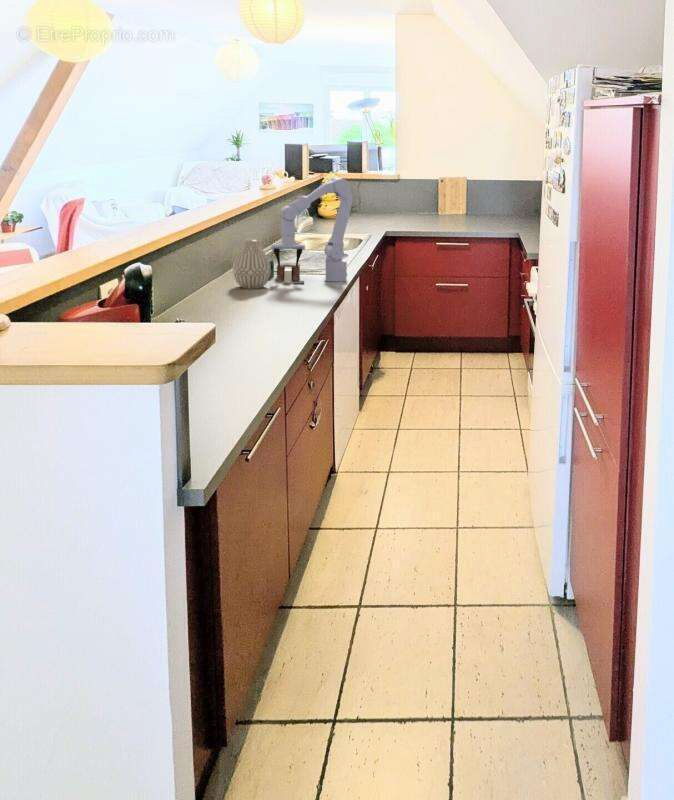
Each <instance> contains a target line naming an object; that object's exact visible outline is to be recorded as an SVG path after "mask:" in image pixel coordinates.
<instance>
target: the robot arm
mask: <svg viewBox="0 0 674 800" xmlns="http://www.w3.org/2000/svg"><path fill="white" fill-rule="evenodd" d="M326 194H335V195H336V197H337V198H338V200H339V201H340V202H339V205H338V209H337V212H336V213H337V214H336V217H335V222H334V225H333V228H332V233H331V237H330V238H329V239H328V242H327V244H326V245H325V247H324V249H323V251H324V254H325V256H326V257H325V277H324V281H325V282H347V277H348V273H347V270H348V269H347V268H348V267H347V266H348V265H347V263H348V261H347V259H346V260H345V259H343V257H344V255H345V254H344V252H345V251H344V245H345V243H344V238H345V237H344V236H345V234H346V228H347V225H348V221H349V217H350V214H351V209H352V207H353V201H354V198H353V194H352V191H351V184H350V183H349V182H348V180H347V179H345V178H340V177H336V176H335V177H332V178H331V179H328V180H327V181H325V182H324V183H323V184H321V185H320V186H319V187H317V188H315V189H314V190H313V191H312V192H310V193H308V194H307V195H301V196H300V195H298V196H297V197H296V198H297V199H295V200H294V201H292V202H289V203H288V204H287V205H285V206H283V207H281V210H280V212H279V216H280V217H281V231H280V232H281V244H277V243H276V244H270V250H273V253H274V256H275V257H276V262H278V266H279V267H280V262H281V260H280V257H281V256H280V250H287V251H289V250H292V251H293V250H294V251H295V250H296V260H295V262H296V267H298V262H300V258H301V256H302V253H303V251H305V250H306V245H305V244H295V241H296V239H295V238H296V223H295V221H296V218H297V216H298V215H300V214H302V213H303V212H304V211H306V210H308V209H309V208H310V207H311V203H313V202H314V201H316V200H318V199H319V198H321V197H323V196H325V195H326Z"/></svg>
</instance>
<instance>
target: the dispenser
mask: <svg viewBox="0 0 674 800" xmlns="http://www.w3.org/2000/svg"><path fill="white" fill-rule="evenodd" d="M300 264H301V262H300V261H298V267H296V261H295V262H294V261H293V262H291V261H289V262H287V261H282V262H281V261H280V267H279V266H278V261H276V280H277V281H284V270H285V266H291V267H292V281H301V280H300V279H301V276H300V275H301V273H300V271H301V269H300Z"/></svg>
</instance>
